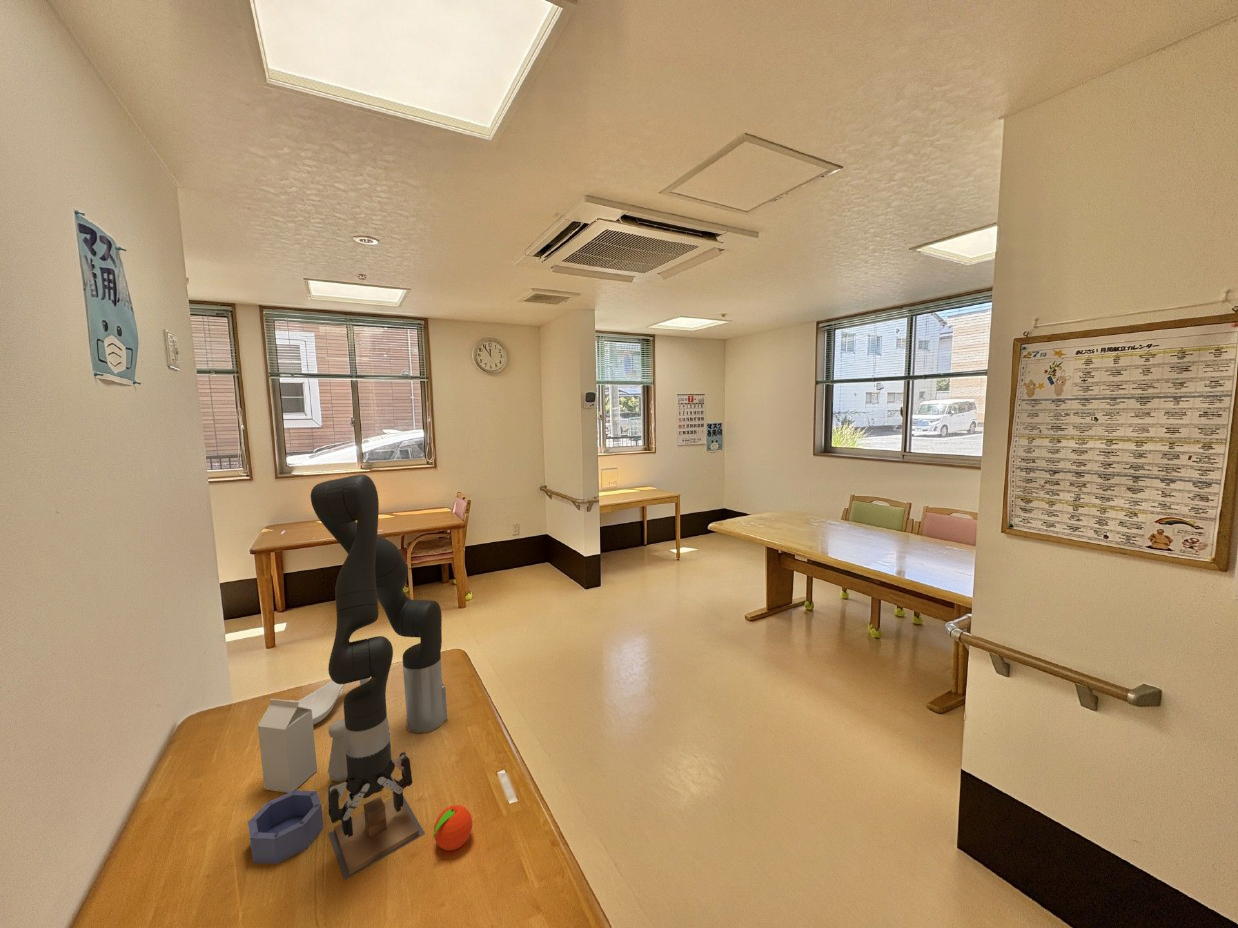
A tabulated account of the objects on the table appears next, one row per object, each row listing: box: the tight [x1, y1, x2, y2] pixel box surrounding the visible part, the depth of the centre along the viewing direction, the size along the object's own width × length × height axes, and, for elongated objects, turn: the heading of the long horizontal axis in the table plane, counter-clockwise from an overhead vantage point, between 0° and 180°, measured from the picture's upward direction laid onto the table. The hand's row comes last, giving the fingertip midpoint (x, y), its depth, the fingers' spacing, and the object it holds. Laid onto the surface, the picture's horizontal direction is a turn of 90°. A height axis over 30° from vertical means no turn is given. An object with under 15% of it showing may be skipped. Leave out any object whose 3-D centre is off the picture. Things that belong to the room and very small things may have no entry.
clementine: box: [432, 804, 473, 852], centre depth 92 cm, size 8×7×7 cm
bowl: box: [247, 789, 324, 865], centre depth 95 cm, size 11×11×6 cm
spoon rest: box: [298, 677, 371, 726], centre depth 137 cm, size 24×12×7 cm, turn 157°
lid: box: [333, 796, 419, 874], centre depth 95 cm, size 12×12×6 cm
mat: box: [328, 795, 426, 881], centre depth 95 cm, size 14×13×1 cm
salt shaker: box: [327, 718, 347, 783], centre depth 110 cm, size 6×6×13 cm
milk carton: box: [257, 698, 318, 794], centre depth 109 cm, size 7×7×19 cm
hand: (374, 820), depth 95 cm, fingers open, 8 cm apart
